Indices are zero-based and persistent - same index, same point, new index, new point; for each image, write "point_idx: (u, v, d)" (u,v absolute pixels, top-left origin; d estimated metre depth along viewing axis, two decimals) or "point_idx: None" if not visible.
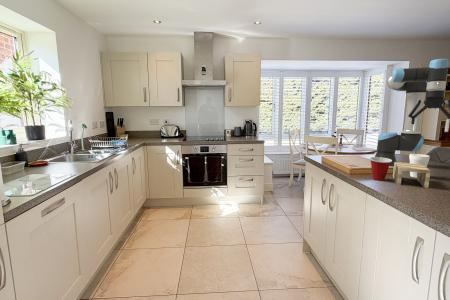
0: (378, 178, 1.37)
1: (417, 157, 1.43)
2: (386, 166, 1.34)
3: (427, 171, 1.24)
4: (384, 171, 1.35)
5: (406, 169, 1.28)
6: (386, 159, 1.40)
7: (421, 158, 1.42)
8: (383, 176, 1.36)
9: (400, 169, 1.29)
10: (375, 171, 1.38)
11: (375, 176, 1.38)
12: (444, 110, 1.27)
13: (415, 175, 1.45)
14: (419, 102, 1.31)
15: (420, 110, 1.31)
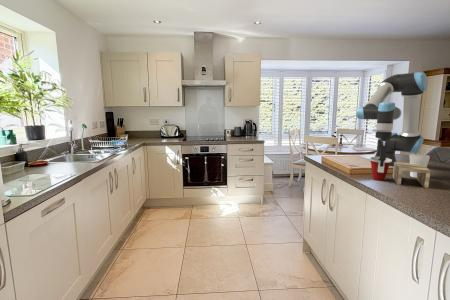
0: (378, 178, 1.37)
1: (417, 157, 1.43)
2: (386, 166, 1.34)
3: (427, 171, 1.24)
4: (384, 171, 1.35)
5: (406, 169, 1.28)
6: (386, 159, 1.39)
7: (421, 158, 1.42)
8: (383, 176, 1.36)
9: (400, 169, 1.29)
10: (375, 171, 1.37)
11: (375, 176, 1.38)
12: (379, 151, 1.34)
13: (415, 175, 1.45)
14: None
15: (378, 149, 1.42)
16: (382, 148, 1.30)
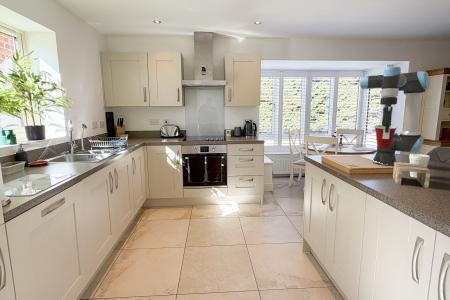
0: (383, 146, 1.34)
1: (417, 157, 1.43)
2: (391, 133, 1.31)
3: (427, 171, 1.24)
4: (389, 138, 1.32)
5: (406, 169, 1.28)
6: (391, 126, 1.37)
7: (421, 158, 1.42)
8: (388, 143, 1.33)
9: (400, 169, 1.29)
10: (380, 138, 1.35)
11: (380, 144, 1.35)
12: (385, 117, 1.31)
13: (415, 175, 1.45)
14: None
15: (383, 117, 1.39)
16: (387, 113, 1.27)
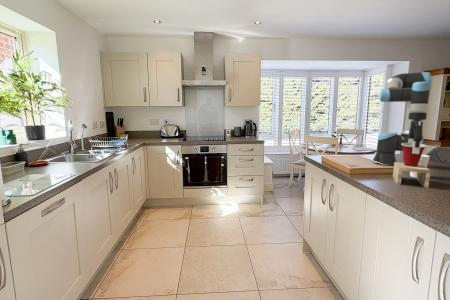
0: (411, 164, 1.32)
1: None
2: (420, 151, 1.29)
3: (427, 171, 1.24)
4: (418, 156, 1.30)
5: (406, 169, 1.28)
6: None
7: (421, 158, 1.42)
8: (416, 162, 1.31)
9: (400, 169, 1.29)
10: (408, 157, 1.32)
11: (408, 162, 1.33)
12: (414, 132, 1.28)
13: (415, 175, 1.45)
14: (411, 123, 1.37)
15: (410, 131, 1.37)
16: (418, 128, 1.24)
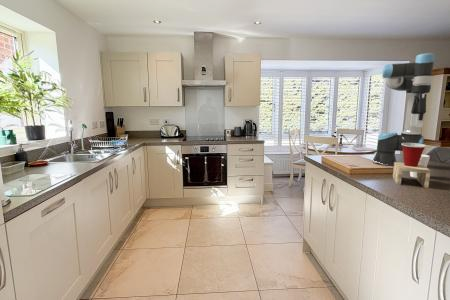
0: (411, 164, 1.32)
1: None
2: (420, 151, 1.29)
3: (427, 171, 1.24)
4: (418, 156, 1.30)
5: (406, 169, 1.28)
6: (419, 144, 1.35)
7: (421, 158, 1.42)
8: (416, 162, 1.31)
9: (400, 169, 1.29)
10: (408, 157, 1.32)
11: (408, 162, 1.33)
12: (418, 105, 1.26)
13: (415, 175, 1.45)
14: (414, 98, 1.35)
15: (413, 105, 1.35)
16: (421, 101, 1.22)
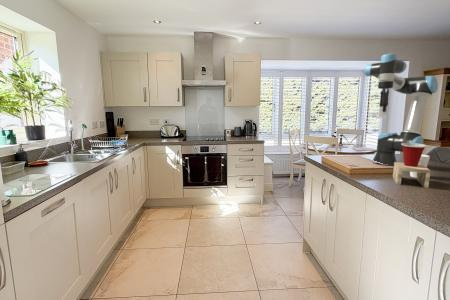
0: (411, 164, 1.32)
1: None
2: (420, 151, 1.29)
3: (427, 171, 1.24)
4: (418, 156, 1.30)
5: (406, 169, 1.28)
6: (419, 144, 1.35)
7: (421, 158, 1.42)
8: (416, 162, 1.31)
9: (400, 169, 1.29)
10: (408, 157, 1.32)
11: (408, 162, 1.33)
12: (382, 98, 1.45)
13: (415, 175, 1.45)
14: None
15: (380, 99, 1.54)
16: (385, 94, 1.41)
